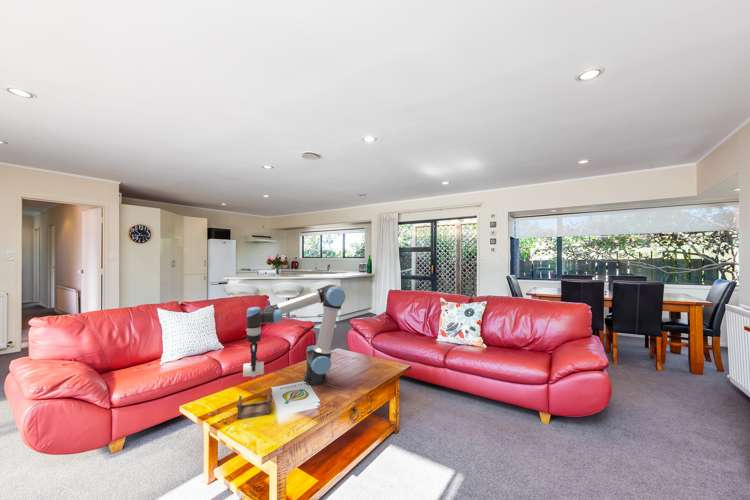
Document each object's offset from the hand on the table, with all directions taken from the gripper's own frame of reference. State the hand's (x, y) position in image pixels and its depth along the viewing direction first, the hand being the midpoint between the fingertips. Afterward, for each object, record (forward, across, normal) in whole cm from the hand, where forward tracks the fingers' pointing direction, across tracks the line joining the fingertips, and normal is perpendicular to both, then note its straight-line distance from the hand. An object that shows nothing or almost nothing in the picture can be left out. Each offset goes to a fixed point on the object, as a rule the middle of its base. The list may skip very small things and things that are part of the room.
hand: (253, 373), depth 184 cm
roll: (-3, 0, 0) cm, 3 cm away
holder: (+14, +16, +1) cm, 21 cm away
